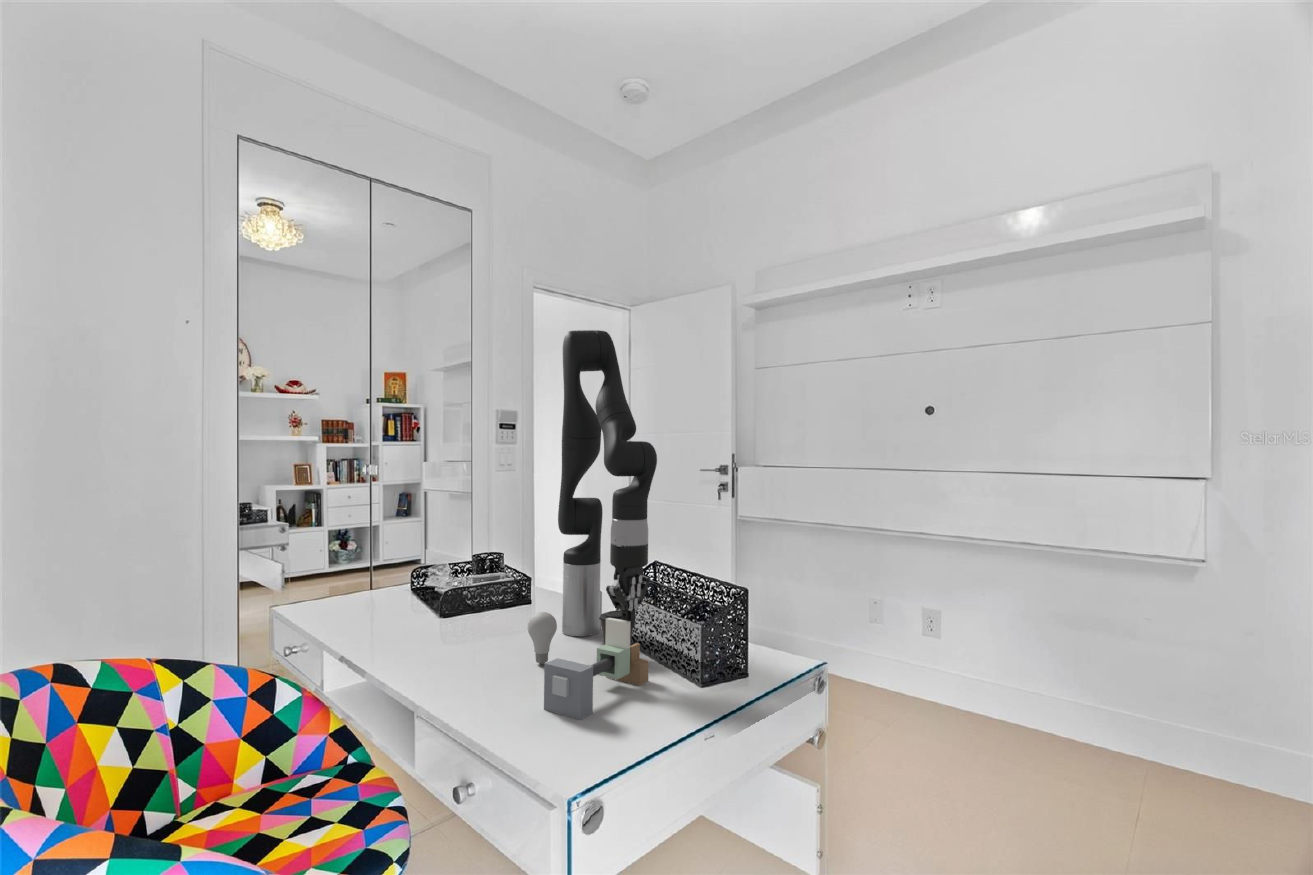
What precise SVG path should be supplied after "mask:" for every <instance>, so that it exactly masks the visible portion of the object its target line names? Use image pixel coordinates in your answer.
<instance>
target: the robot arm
mask: <svg viewBox="0 0 1313 875" xmlns="http://www.w3.org/2000/svg"><path fill="white" fill-rule="evenodd" d="M614 344H615V343H614V340H613V339H612V337H611V334H609V332H607V331H605V330H599V329H597V330H595V329H593V330H590V329H589V330H588V329H587V330H569V331H567V332H566V333H565V335H564V337H563V343H562V373H563V375H562V376H563V413H562V427H561V478H560V479H561V480H560V491H559V502H558V513H557V526H558V529H559V531H560V533H561V534H562V535H566V536H574V535H575V536H587V538H586V539H585V540H584V541H583V542H582V543H580V544H578V545H575V546H572V547H570V548H568V549H566V550H565V551H563V557H562V559H563V562H562V565H563V566H562V568H563V570H562V616H561V620H562V622H561V623H562V624H561V625H562V630H561V632H562V633H563V634H564V635H567V636H571V637H587V636H588V637H589V636H593V635H596V634H598V633H600V630H602V626H601V620H600V619H599V617H600V615H601V614H603V611H602V610H603V609H602V608H603V607H602V606H603V592H602V591H601V566H602V565H601V561H602V560H601V554H602V553H601V550H602V549H601V547H602V542H601V540H602V528H603V526H602V525H603V504H602V501H601V500H600V498H598V497H574V495H575V492H576V490H577V488H578V486H579V483H580V482H581V480H582V479H583V477H584V476H585V474H586V473H587V472H588V470H589V469H590V468H591V467H592V465H593V464H594V463H595V462H596V460H597V458H598V457H599V454H600V452H601V445H602V444H601V443H602V436H603V465H604V467H605V469H606V471H607V472H608V473H609V474H610V475H612V476H614V477H633V478H632V480H631V482H630V484H629V485H628V486H626V487H621V488H619V489H616V490H614V491H613V494H612V502H611V503H612V506H611V508H612V509H611V510H612V511H611V513H612V514H611V525H610V554H609V556H610V558H609V560H610V561H609V563H610V565H611V566H612V567H614V574H613V581H612V584H611V585H607V586H606V588H605V590H606V593H607V595H608V597H609V599H610V601H611V603H612V606H613V607H614V609H617V610H619V611H622V620H626V621H631V622H630V630H631V629H635V626H636V619H635V617H636V610H638V605H642V603H643V601H644V599H645V595H646V592H647V590H648V587H649V584H650V582H651V578H650V577H648V576H645V575H644V572H645V571H644V567H646V566H647V565H648V563H649V524H648V523H649V522H648V499H649V494H650V491H651V487H652V483H653V479H654V476H655V472H656V468H657V464H658V455H657V451H656V448H655V447H654V446H653V444H652V443H650V442H648V441H642V440H641V441H640V440H637V441H634V440H631V439H632V438H633V437H634V436H635V435H636V432H637V425H636V421H635V418H634V416H633V414H632V411H631V408H630V406H629V403H628V401H627V398H626V395H625V390H624V386H623V381H622V380H623V379H622V375H621V370H620V365H619V362H618V361H619V360H618V357H617V352H616V347H615V345H614ZM581 372H602V374H603V378H604V379H603V382H602V385H601V387H600V389H599V392H598V394H597V396H596V401H595V410H594V408H593V406H592V405H591V404H590V402H589V400H588V399H587V397H586V395H585V393H584V391H583V388H582V384H581ZM630 440H631V441H630Z"/></svg>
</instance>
